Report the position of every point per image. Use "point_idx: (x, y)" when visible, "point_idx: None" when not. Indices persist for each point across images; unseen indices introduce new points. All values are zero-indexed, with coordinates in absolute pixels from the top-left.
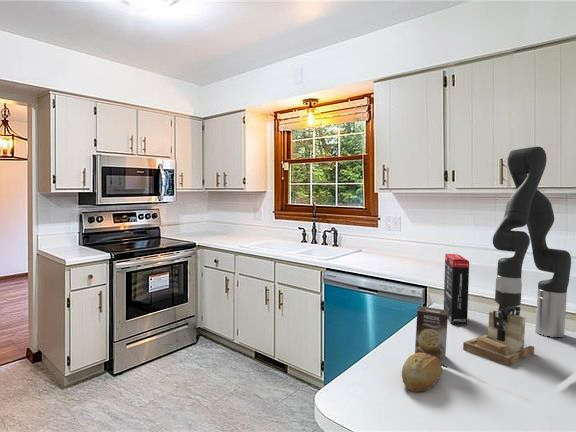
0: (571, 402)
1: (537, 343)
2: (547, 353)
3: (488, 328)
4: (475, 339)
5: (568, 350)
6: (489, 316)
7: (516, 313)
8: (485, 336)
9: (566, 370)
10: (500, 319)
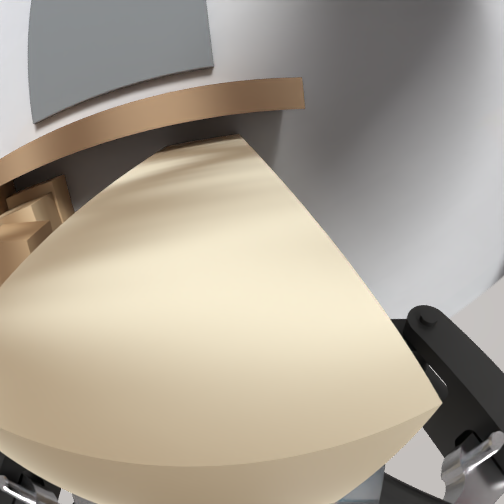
0: None
1: (468, 229)
2: (389, 309)
3: (115, 182)
4: (32, 157)
5: (458, 306)
6: (14, 287)
7: (447, 446)
8: (164, 119)
9: None
10: (33, 476)
